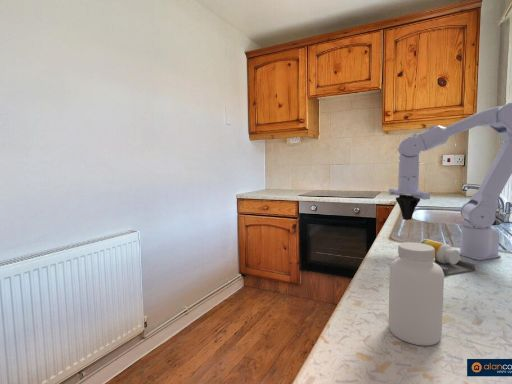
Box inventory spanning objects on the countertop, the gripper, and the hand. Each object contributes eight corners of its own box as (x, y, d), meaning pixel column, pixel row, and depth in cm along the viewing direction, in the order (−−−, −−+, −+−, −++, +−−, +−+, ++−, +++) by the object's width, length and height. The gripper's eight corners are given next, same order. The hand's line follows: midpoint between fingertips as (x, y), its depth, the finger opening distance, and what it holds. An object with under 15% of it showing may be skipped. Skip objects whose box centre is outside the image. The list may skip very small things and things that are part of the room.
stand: (437, 257, 88) (437, 252, 88) (474, 270, 78) (475, 264, 78) (410, 261, 85) (410, 256, 85) (445, 275, 75) (445, 269, 75)
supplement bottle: (431, 239, 89) (463, 247, 80) (428, 256, 89) (460, 267, 80) (418, 237, 87) (449, 246, 78) (415, 256, 87) (446, 266, 78)
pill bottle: (379, 321, 54) (381, 240, 53) (421, 319, 55) (424, 239, 53) (404, 349, 46) (408, 254, 45) (453, 345, 47) (458, 252, 45)
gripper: (381, 176, 100) (380, 216, 101) (417, 178, 86) (415, 224, 87) (398, 175, 102) (397, 214, 103) (436, 177, 88) (434, 222, 89)
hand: (407, 219), depth 95 cm, fingers closed
